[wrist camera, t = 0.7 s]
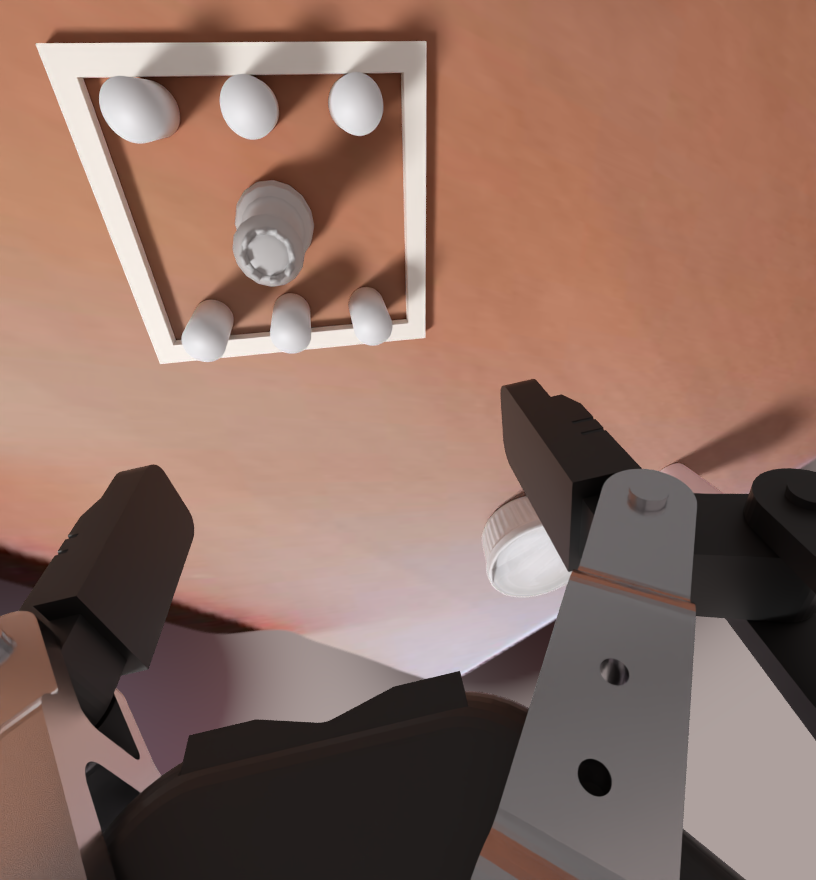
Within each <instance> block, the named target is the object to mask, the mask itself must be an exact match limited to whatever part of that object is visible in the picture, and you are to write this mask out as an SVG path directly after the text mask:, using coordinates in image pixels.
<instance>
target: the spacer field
mask: <svg viewBox="0 0 816 880" xmlns="http://www.w3.org/2000/svg"><path fill="white" fill-rule="evenodd" d="M35 44H36V46H37V49H38V51H39V54H40V57H41V59H42V62H43V64H44V67H45V69H46V72H47V75H48V77H49V80H50V82H51V85H52V87H53V90H54V93H55V95H56V98H57V100H58V103H59V105H60V108H61V110H62V113H63V116H64V118H65V121H66V123H67V126H68V128H69V131H70V134H71V136H72V139H73V141H74V144H75V146H76V149H77V152H78V154H79V157H80V159H81V162H82V164H83V167H84V169H85V172H86V175H87V177H88V180H89V182H90V185H91V187H92V190H93V193H94V195H95V198H96V200H97V203H98V205H99V208H100V211H101V213H102V216H103V218H104V221H105V223H106V226H107V229H108V231H109V234H110V236H111V239H112V241H113V244H114V246H115V249H116V252H117V254H118V257H119V259H120V262H121V264H122V267H123V270H124V272H125V275H126V277H127V280H128V282H129V285H130V288H131V290H132V293H133V295H134V298H135V300H136V303H137V306H138V308H139V311H140V313H141V316H142V318H143V321H144V323H145V326H146V329H147V331H148V334H149V336H150V339H151V341H152V344H153V347H154V349H155V352H156V354H157V357H158V359H159V362H160V364H164V363H174V362H185V361H195V360H199V361H203V362H211V361H215V360H217V359H219V358H225V357H235V356H246V355H256V354H266V353H276V352H286V353H298V352H301V351H303V350H306V349H317V348H327V347H337V346H347V345H357V344H367V345H379V344H381V343H383V342H388V341H398V340H408V339H418V338H425V296H426V41H359V42H189V43H35ZM369 73H401V96H402V140H403V185H404V229H405V274H406V318H407V319H402V320H391V318H390V315H389V313H388V311H387V308H386V306H385V303H384V301H383V299H382V296H381V295H380V293H379V292H378V291H377V290H375V289H373V288H370V287H362V288H359V289H357V290H356V291H354V292H353V293H352V295H351V296H350V299H349V304H348V305H349V311H350V315H351V319H352V324H347V325H337V326H326V327H315V328H311V318H310V307H309V305H308V303H307V301H306V300H305V299H304V298H303V297H301V296H300V295H297V294H294V293H287V294H283V295H281V296H280V297H279V298H278V299H277V300H276V301H275V303H274V307H273V314H272V321H271V329H270V332H261V333H250V334H239V335H230V333H231V330H232V327H233V323H234V317H233V314H232V312H231V310H230V309H229V307H228V306H226V305H225V304H224V303H222V302H220V301H217V300H205V301H202V302H201V303H199V304H198V306H197V307H196V309H195V311H194V313H193V315H192V316H191V318H190V320H189V322H188V324H187V326H186V328H185V330H184V332H183V334H182V340H176V339H175V336H174V333H173V330H172V328H171V325H170V322H169V319H168V316H167V313H166V311H165V308H164V305H163V302H162V299H161V297H160V294H159V291H158V288H157V285H156V282H155V280H154V277H153V274H152V271H151V268H150V265H149V263H148V260H147V257H146V254H145V251H144V249H143V246H142V243H141V240H140V237H139V234H138V232H137V229H136V226H135V223H134V220H133V217H132V215H131V212H130V209H129V206H128V203H127V200H126V198H125V195H124V192H123V189H122V186H121V184H120V181H119V178H118V175H117V172H116V169H115V167H114V164H113V161H112V158H111V155H110V152H109V150H108V147H107V144H106V141H105V138H104V135H103V133H102V130H101V127H100V124H99V121H98V119H97V116H96V113H95V110H94V107H93V104H92V102H91V99H90V96H89V93H88V90H87V87H86V85H85V82H84V79H83V78H109V79H108V80H106V81H105V82H104V84H103V85H102V87H101V90H100V94H99V104H100V109H101V112H102V114H103V117H104V119H105V120H106V122H107V123H108V125H109V126H110V127H111V129H112V130H113V131H114V132H115V133H116V134H118V135H119V136H120V137H122V138H124V139H125V140H127V141H130V142H133V143H147V142H151V141H155V140H159V139H163V138H167V137H169V136H171V135H173V134H174V133H175V132H176V131H177V129H178V127H179V124H180V111H179V108H178V105H177V102H176V100H175V99H174V97H173V96H172V94H171V93H170V92H169V91H168V90H167V89H166V88H165V87H164V86H163V85H161V84H159V83H157V82H155V81H152V80H147V79H140V78H134V77H178V76H232V77H230V78H229V79H228V80H227V81H226V82H225V83H224V85H223V87H222V90H221V93H220V107H221V111H222V114H223V117H224V119H225V121H226V122H227V124H228V125H229V127H230V128H231V129H232V130H233V131H234V132H235V133H237V134H238V135H240V136H241V137H244V138H246V139H260V138H262V137H264V136H266V135H267V134H268V133H269V132H270V131H271V130H272V129H273V128H274V127H275V126H276V124H277V121H278V118H279V106H278V102H277V99H276V97H275V95H274V93H273V91H272V90H271V89H270V87H269V86H268V85H266V84H265V83H264V82H262V81H261V80H259V79H257V78H255V77H253V76H251V75H305V74H346V75H345V76H343V77H342V78H340V79H339V80H337V81H336V82H335V83H334V84H333V86H332V88H331V90H330V92H329V97H328V107H329V112H330V115H331V117H332V119H333V120H334V122H335V123H336V124H337V125H338V126H339V127H340V128H341V129H343V130H345V131H346V132H348V133H350V134H352V135H356V136H363V135H367V134H369V133H370V132H372V131H373V130H374V129H375V128H376V127H377V126H378V124H379V122H380V120H381V117H382V113H383V99H382V95H381V92H380V89H379V87H378V86H377V84H376V83H375V81H374V80H373V79H372V78H370V77H369V76H368V75H366V74H369Z"/></svg>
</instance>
